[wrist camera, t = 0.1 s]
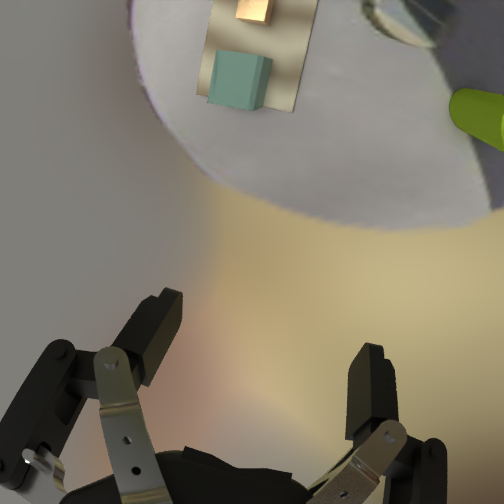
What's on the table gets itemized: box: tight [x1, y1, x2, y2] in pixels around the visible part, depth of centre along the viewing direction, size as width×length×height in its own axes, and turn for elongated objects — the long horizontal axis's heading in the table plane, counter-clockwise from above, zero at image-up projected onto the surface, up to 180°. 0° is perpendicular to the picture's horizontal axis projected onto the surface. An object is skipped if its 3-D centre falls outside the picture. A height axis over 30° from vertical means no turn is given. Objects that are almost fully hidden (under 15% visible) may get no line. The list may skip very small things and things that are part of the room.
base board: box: [196, 0, 318, 113], centre depth 27 cm, size 26×12×1 cm, turn 170°
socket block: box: [207, 50, 273, 111], centre depth 30 cm, size 6×5×6 cm
